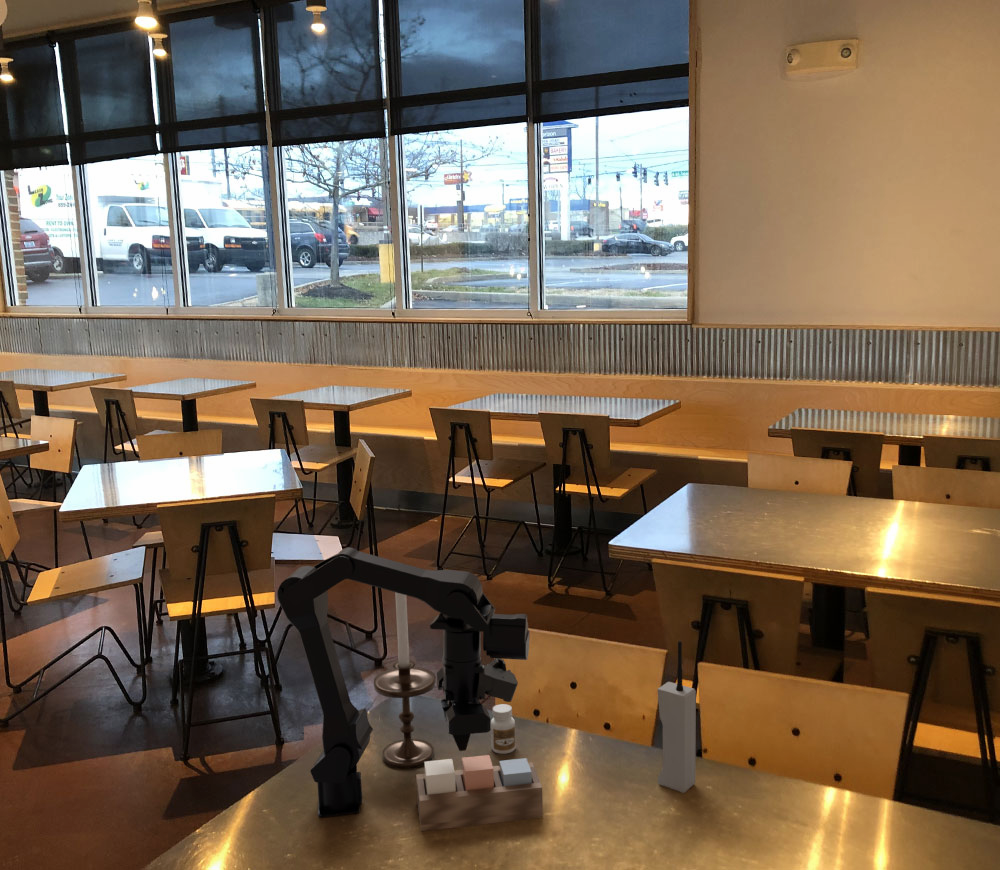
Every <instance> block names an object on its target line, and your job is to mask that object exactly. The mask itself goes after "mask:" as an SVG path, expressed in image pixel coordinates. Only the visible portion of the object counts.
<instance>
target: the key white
mask: <svg viewBox="0 0 1000 870" xmlns="http://www.w3.org/2000/svg"><path fill="white" fill-rule="evenodd" d="M453 761H454V760H453V759H452V758H447V759H438V760H436V759H435V760H431V761H426V762H424V765H423V766H424V774H425V786H426V793H427V795H431V794H440V793H449V792H456V786H455V767H454V762H453Z"/></svg>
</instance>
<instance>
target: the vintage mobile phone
mask: <svg viewBox="0 0 1000 870" xmlns="http://www.w3.org/2000/svg"><path fill="white" fill-rule="evenodd" d="M682 643H683V642H682V641H681V640H678V641H677V670H676V671H677V672H676V682H672V681H667V682H665V683H664V684H663V685H661V686H660V687H658V688H657V700H658V711H659V713H658V714H659V719H660V722H661V724H662V769H661V771H660V773H659V774H658V777H657V784H659V786H662V787H666V788H669V789H671V790H674V791H677V792H680V793H682V794H685V793H686V792H687V791H688V790H689V789H690V788H691V787H693V786H694V785H695V784H696V749H697V748H696V732H697V731H696V727H697V726H696V721H697V719H696V717H697V716H696V714H697V711H696V708H697V707H696V706H697V701H696V700H697V695H696V694H697V692H696V689H695V688H692V687H689V686H686V685H683V666H682V665H683V663H682V662H683V661H682V658H683V657H682V655H683V653H682V652H683V649H682V647H683V645H682Z"/></svg>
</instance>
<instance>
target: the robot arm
mask: <svg viewBox="0 0 1000 870" xmlns="http://www.w3.org/2000/svg"><path fill="white" fill-rule="evenodd" d="M344 580H351V581H353V582H357V583H360V584H365V585H369V586H372V587H376V588H378V589H382V590H385V591H389V592H393V593H395V592H396V593H400V594H403V595H406V597H407V596H408V597H411V598H414V599H418V600H419V601H422V602H423V603H425V605H428V606H429V608H431V609H433V610H434V611H436V612H438V613H439V614H437V615H436V616H435V617H433V620H432V622H431V623H430V625H429V628H430V629H431V630H439V631H440V630H442V635H443V636H442V637H443V641H442V642H443V645H442V647H443V649H442V650H443V656H442V657H441V664H442V667H441V668H440V669H439V670H438V671H437V672H436V686H437V689H438V691H441V690H442V692H443V695H444V698H442V699H441V700H440V703H441V708H442V711H443V716H444V720H445V722H446V728H447V731H448V734H449V735H451V736H452V737H453V740H454V743H455V744H456V746H457V749H458V751H459V752H463V751H464V752H465V751H466V750H467V747H468V745H469V741H470V737H471V735H472V734H486V733H489V732H491V720H492V719H491V716H490V713H489V711H488V708H487V707H486V706H485V705H484V704H482V703H481V702H480V701H481V700H485V699H486V695H487V696H489V697H493V698H496V699H500V700H503V702H505V703H506V702H507V703H510V702H512V700H513V698H514V695H515V693H516V689H517V687H518V684H519V683H518V680H517V677H516V675H515V674H514V673H513V672H512V670H511V669H508V670H507V665H506V662H505V660H519V661H520V660H522V661H527V660H528V658H529V653H530V652H529V650H530V633H531V632H530V630H529V623H528V615H527V614H526V613H516V614H504V613H503V614H502V613H495V612H496V608H495V606H494V605H493V604H492V602H491V601H490V600H489V597H487V595H486V594H485V593H484V591H483V586H482V582H481V581H480V579H479V577H478V576H477V575H476V574H475V573H472V572H470V571H466V570H465V571H464V570H454V569H438V570H434V569H433V570H431V569H425V568H424V569H423V568H421V567H417V566H413V565H410V564H406V563H403V562H399V561H394V560H391V559H388V558H384V557H381V556H377V555H374V554H370V553H366V552H364V551H359V550H358V549H357V548H354V547H345V548H344V547H343V548H342V549H340V551H339V552H338V553H336V554H334V555H333V556H332V555H331V556H330V557H328V558H326V559H323V560H322V561H321V562H319V563H317V564H315V565H313V566H311V565H303V566H299V567H298V568H296V570H294V571H293V572H292V573H291V574H290V575H289V576H288V577H286V578H285V579H284V580H283V581H282V582H281V583H280V585H279V586H278V589H277V592H276V596H277V601H278V603H279V605H280V607H281V609H282V611H283V614H284V616H285V618H286V619H287V620H288V621H289V623H290V624H292V626H293V627H294V628H295V629H296V630H297V632H298V634H299V636H300V640H301V644H302V646H303V647H302V648H303V651H304V654H305V658H306V660H307V663H308V664H307V665H308V668H309V671H310V674H311V677H312V681H313V684H314V688H315V692H316V694H317V695H316V696H317V698H318V702H319V706H320V708H321V712H322V717H323V718H322V734H321V739H322V752H321V754H319V756H318V758H317V759H316V761H315V762H314V764H313V765H312V767H311V769H310V773H311V775H312V776H311V777H312V778H313V781H314V782H315V783H316V784H317V785H316V786H317V800H318V806H317V807H318V808H317V817H319V818H325V817H334V816H343V815H352V814H358V813H360V804H362V802H363V790H362V789H363V788H362V784H363V783H362V772H361V771H358V768H357V767H358V764H359V762H360V759H361V758H362V757H363V754H364V752H365V751H366V750H367V748H368V745H369V744H370V741H371V734H372V732H373V730H374V729H373V727H372V725H371V724H370V721H369V717H368V716H369V715H368V711H367V710H368V709H367V708H365V707H364V708H361V709H357V708H356V707H355V706H354V704H353V703H352V702H351V699H350V695H349V692H348V689H347V685H346V682H345V678H344V675H343V670H342V668H341V665H340V664H341V663H340V661H339V657H338V655H337V650H336V647H335V642H334V639H333V636H332V632H331V629H330V626H329V623H328V611H329V610H328V607H329V594H328V590H330V589H332V588H333V587H334V586H336V585H338V584H339V583H341V582H343V581H344ZM482 632H483V633H482ZM481 633H482V634H483V635H482V636H483V637H482V648H483V651H484V652H486V656H489V657H490V659H493V660H492V661H491V662H489V663H487V664H482V658H481V657H482V656H481Z"/></svg>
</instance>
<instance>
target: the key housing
mask: <svg viewBox="0 0 1000 870" xmlns="http://www.w3.org/2000/svg"><path fill="white" fill-rule="evenodd" d="M528 764H529V766H530V769H531V772H532V783H531V784H522V785H513V786H504V787H502V783H501V780H500V765H492V766H493V772H494V788H485V789H476V790H467V791H465V788H464V784H463V772H462V769H457V770H455V769H454V770H455V786H456V792H449V793H440V794H431V795H427V793H426V786H425V773H417V774H415V775H416V776H415V777H416V778H415V781H416V782H415V783H416V798H417V803H416V804H417V810H418V818H419V825H420V827H419V828H420V831H421V832H425V831H435V830H443V829H453V828H460V827H461V828H462V827H469V826H478V825H487V824H497V823H504V822H505V823H506V822H514V821H522V820H530V819H539V818H543V817H544V813H543V811H544V809H543V807H544V806H543V802H544V801H543V786H542V784H541V781H540V778H539V776H538V773H537V770H536V767H535V766H534V765H535V764H534V762H531V761H528Z"/></svg>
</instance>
